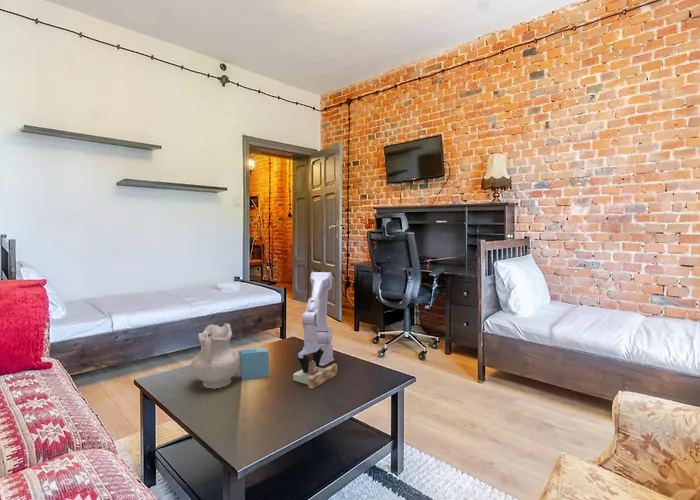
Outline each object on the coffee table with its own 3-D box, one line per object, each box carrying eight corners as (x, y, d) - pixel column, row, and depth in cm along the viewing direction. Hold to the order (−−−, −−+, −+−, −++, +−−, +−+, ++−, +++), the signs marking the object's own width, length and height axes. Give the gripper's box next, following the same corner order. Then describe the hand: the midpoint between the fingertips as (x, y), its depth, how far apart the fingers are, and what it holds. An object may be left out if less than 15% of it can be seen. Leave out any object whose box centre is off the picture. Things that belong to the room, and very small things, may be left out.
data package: (268, 373, 172) (268, 347, 171) (269, 377, 168) (268, 350, 167) (240, 376, 169) (240, 350, 168) (240, 380, 165) (240, 353, 164)
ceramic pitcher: (239, 394, 154) (243, 333, 152) (187, 398, 148) (190, 334, 146) (238, 374, 174) (241, 320, 173) (192, 376, 168) (195, 320, 167)
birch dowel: (313, 376, 169) (313, 360, 169) (317, 379, 166) (317, 363, 166) (305, 378, 167) (304, 362, 167) (309, 381, 164) (309, 365, 163)
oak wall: (333, 373, 172) (333, 363, 172) (337, 374, 171) (337, 364, 171) (308, 387, 157) (308, 377, 157) (312, 389, 156) (312, 378, 156)
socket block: (310, 371, 174) (310, 365, 174) (328, 375, 169) (328, 369, 169) (293, 380, 164) (293, 373, 164) (311, 385, 159) (311, 379, 159)
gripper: (313, 333, 174) (314, 362, 175) (292, 341, 161) (292, 372, 162) (326, 335, 170) (326, 365, 171) (305, 344, 158) (305, 376, 159)
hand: (311, 369), depth 166 cm, fingers open, 7 cm apart
